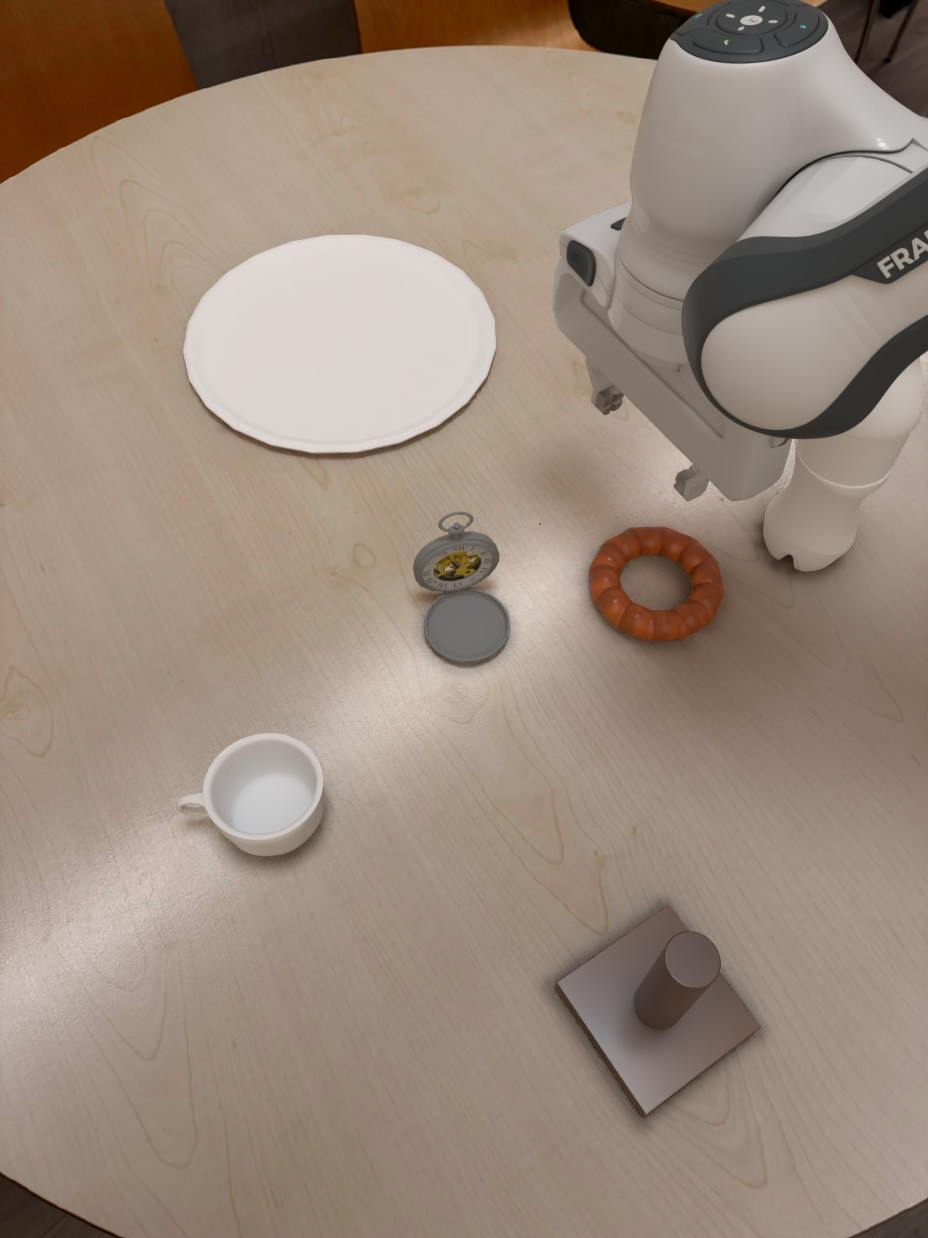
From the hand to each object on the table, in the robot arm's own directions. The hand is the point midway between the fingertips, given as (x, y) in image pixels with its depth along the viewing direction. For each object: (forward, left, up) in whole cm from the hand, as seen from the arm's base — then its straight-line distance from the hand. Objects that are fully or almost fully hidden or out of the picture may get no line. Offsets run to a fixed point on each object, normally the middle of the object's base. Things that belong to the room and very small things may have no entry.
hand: (646, 447), depth 73 cm
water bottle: (-7, -13, -13) cm, 20 cm away
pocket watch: (+2, +14, -13) cm, 19 cm away
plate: (+34, +7, -13) cm, 37 cm away
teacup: (-4, +35, -13) cm, 38 cm away
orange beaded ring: (-4, 0, -12) cm, 12 cm away
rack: (-29, +20, -13) cm, 38 cm away
